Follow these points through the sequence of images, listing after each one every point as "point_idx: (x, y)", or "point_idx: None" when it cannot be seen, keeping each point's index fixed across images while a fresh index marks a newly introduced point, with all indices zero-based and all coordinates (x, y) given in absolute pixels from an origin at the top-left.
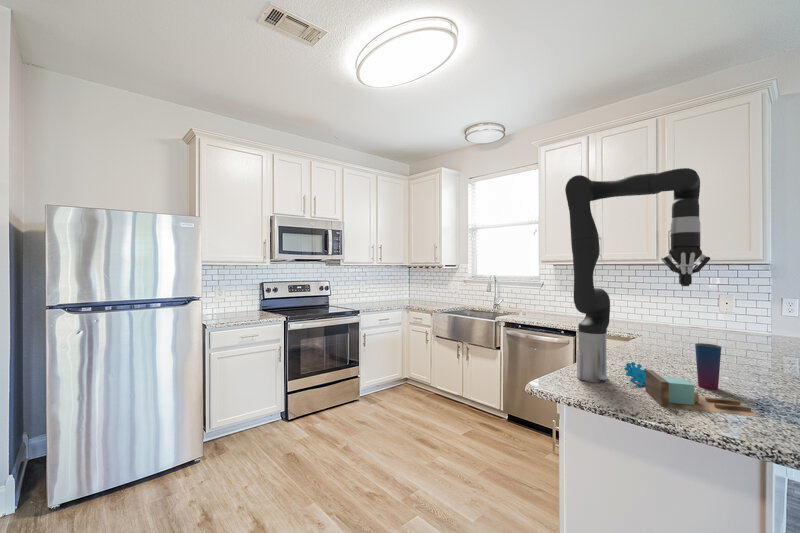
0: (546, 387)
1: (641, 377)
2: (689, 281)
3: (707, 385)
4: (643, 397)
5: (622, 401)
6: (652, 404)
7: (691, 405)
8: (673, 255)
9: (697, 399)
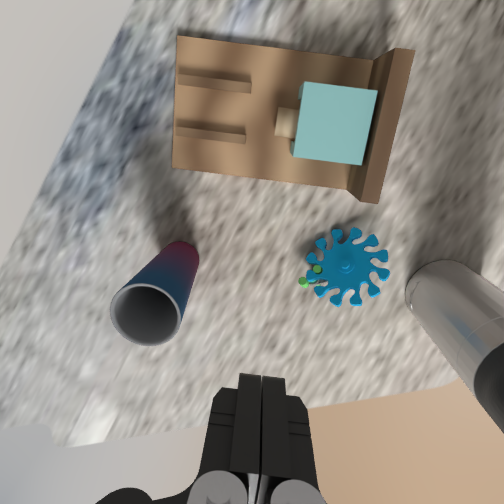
0: None
1: (344, 256)
2: (227, 412)
3: (186, 248)
4: None
5: (459, 106)
6: None
7: None
8: None
9: (281, 107)
